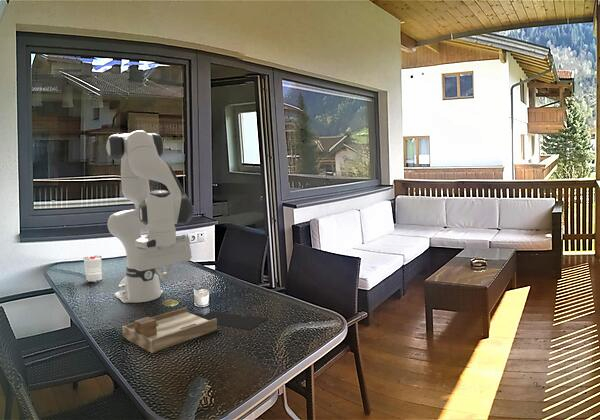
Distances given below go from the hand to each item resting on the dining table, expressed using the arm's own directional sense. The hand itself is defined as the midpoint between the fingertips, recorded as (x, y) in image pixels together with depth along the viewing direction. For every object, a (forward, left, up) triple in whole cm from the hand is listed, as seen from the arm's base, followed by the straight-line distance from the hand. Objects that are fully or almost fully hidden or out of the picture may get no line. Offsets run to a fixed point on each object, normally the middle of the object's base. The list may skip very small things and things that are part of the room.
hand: (164, 278), depth 161 cm
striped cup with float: (-92, +13, -20) cm, 95 cm away
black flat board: (+3, +22, -20) cm, 30 cm away
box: (0, +1, -20) cm, 20 cm away
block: (+1, -8, -17) cm, 19 cm away
